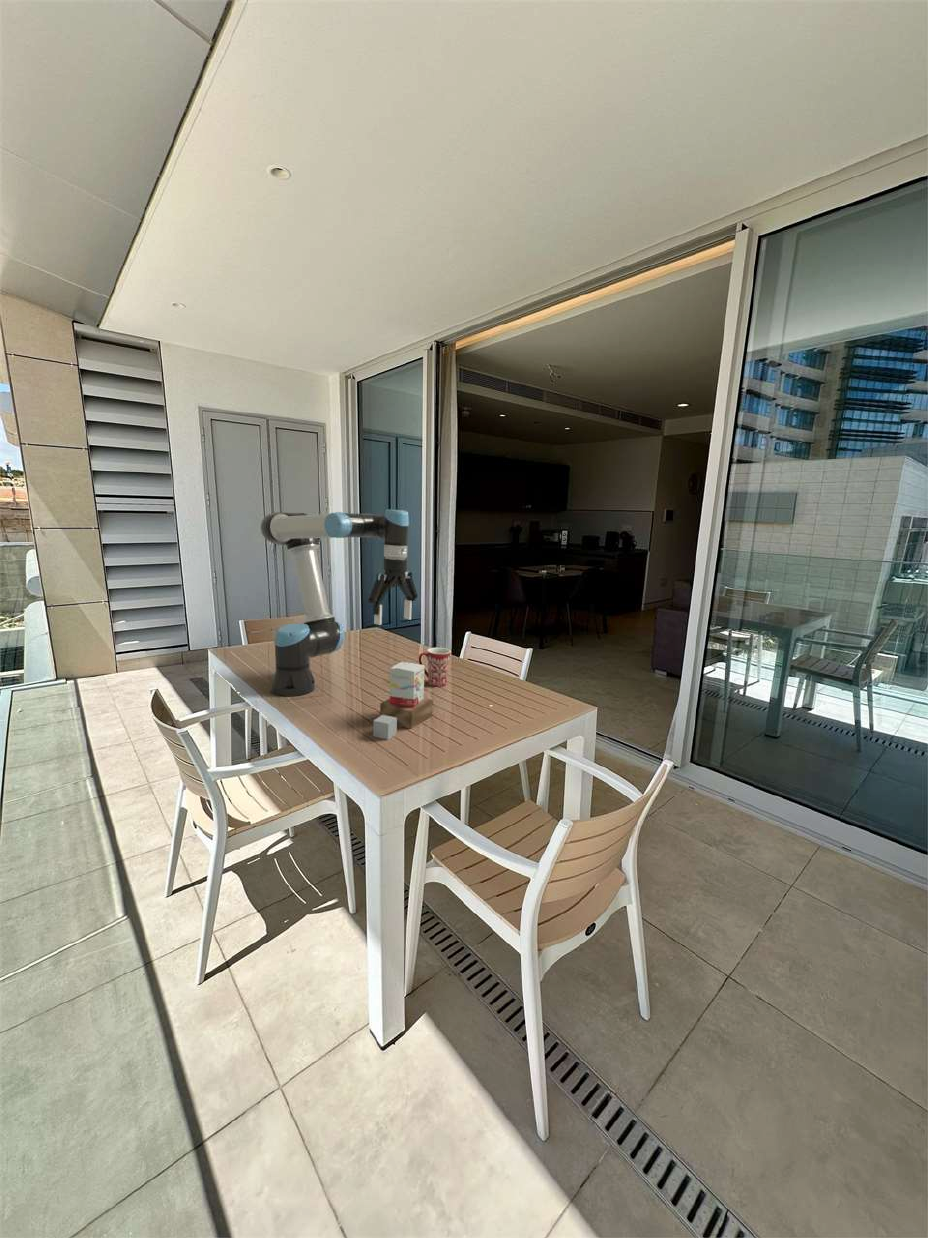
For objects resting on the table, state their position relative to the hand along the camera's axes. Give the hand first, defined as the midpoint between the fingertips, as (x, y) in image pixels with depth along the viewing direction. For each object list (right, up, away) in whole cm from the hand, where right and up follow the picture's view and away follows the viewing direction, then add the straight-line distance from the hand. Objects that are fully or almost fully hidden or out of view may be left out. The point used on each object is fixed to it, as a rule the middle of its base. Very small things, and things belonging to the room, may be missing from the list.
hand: (393, 621), depth 167 cm
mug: (+12, -24, +28) cm, 39 cm away
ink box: (+6, -26, -8) cm, 27 cm away
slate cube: (0, -33, -20) cm, 39 cm away
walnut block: (+5, -31, -7) cm, 33 cm away
